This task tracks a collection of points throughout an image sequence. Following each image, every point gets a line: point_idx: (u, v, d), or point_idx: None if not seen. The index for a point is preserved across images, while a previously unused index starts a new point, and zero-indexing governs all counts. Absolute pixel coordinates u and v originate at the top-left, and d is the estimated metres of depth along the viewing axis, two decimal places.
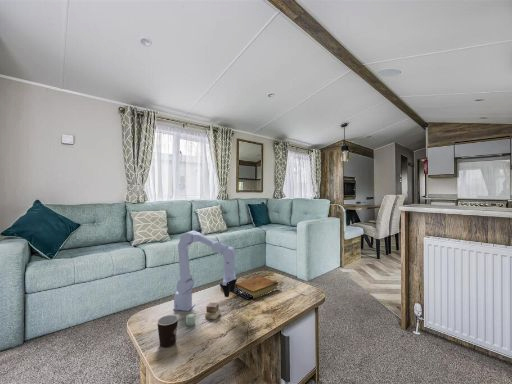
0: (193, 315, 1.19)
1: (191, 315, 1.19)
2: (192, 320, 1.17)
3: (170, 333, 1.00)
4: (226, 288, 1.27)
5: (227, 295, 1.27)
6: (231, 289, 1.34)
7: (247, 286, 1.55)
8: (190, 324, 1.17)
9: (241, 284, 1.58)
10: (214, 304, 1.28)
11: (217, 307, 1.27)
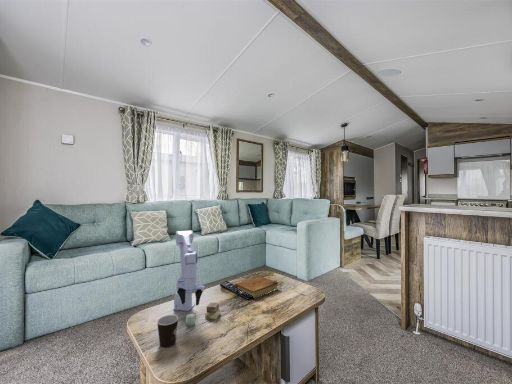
0: (193, 315, 1.19)
1: (191, 315, 1.19)
2: (192, 320, 1.17)
3: (170, 333, 1.00)
4: None
5: None
6: None
7: (247, 286, 1.55)
8: (190, 324, 1.17)
9: (241, 284, 1.58)
10: (214, 304, 1.28)
11: (217, 307, 1.27)
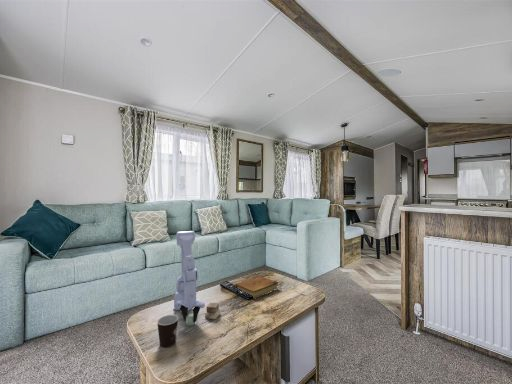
0: None
1: (191, 315, 1.19)
2: (192, 320, 1.17)
3: (170, 333, 1.00)
4: None
5: None
6: None
7: (247, 286, 1.55)
8: (190, 324, 1.17)
9: (241, 284, 1.58)
10: (214, 304, 1.27)
11: (217, 307, 1.27)
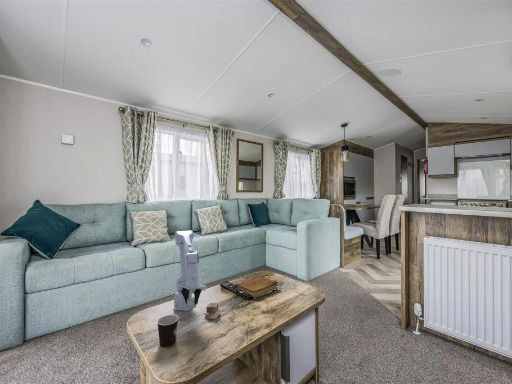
0: (194, 298, 1.20)
1: (192, 298, 1.20)
2: (193, 302, 1.18)
3: (170, 333, 1.00)
4: None
5: None
6: None
7: (247, 286, 1.55)
8: (191, 306, 1.17)
9: (241, 284, 1.58)
10: (214, 304, 1.28)
11: (217, 307, 1.27)
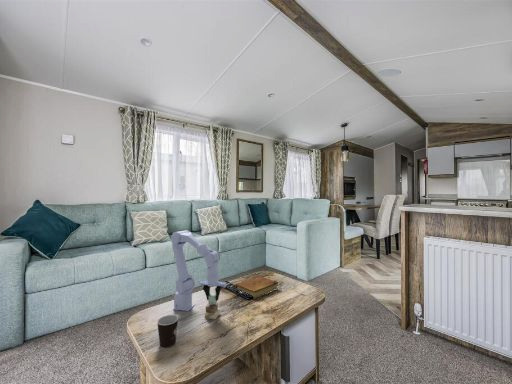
0: (215, 294, 1.28)
1: (213, 294, 1.28)
2: (214, 299, 1.25)
3: (170, 333, 1.00)
4: None
5: None
6: None
7: (248, 286, 1.55)
8: (212, 302, 1.25)
9: (241, 284, 1.58)
10: (213, 304, 1.27)
11: (216, 307, 1.27)
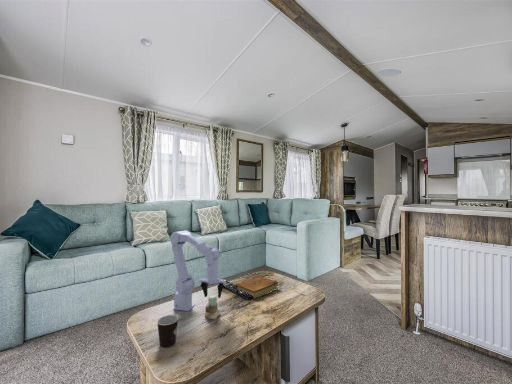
0: (215, 296, 1.28)
1: (213, 296, 1.28)
2: (214, 301, 1.25)
3: (170, 333, 1.00)
4: None
5: None
6: None
7: (248, 286, 1.55)
8: (212, 304, 1.25)
9: (241, 284, 1.58)
10: None
11: (216, 307, 1.27)
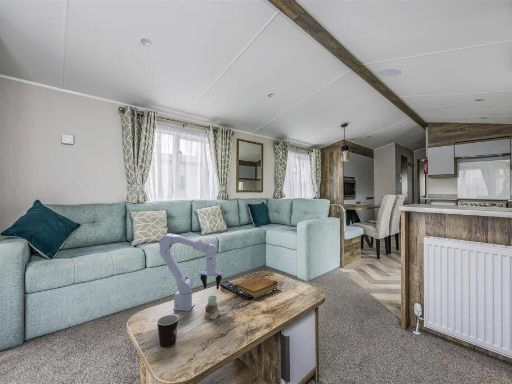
0: (215, 296, 1.28)
1: (213, 296, 1.28)
2: (214, 301, 1.26)
3: (170, 333, 1.00)
4: None
5: None
6: None
7: (248, 286, 1.55)
8: (212, 304, 1.25)
9: (241, 284, 1.58)
10: None
11: (216, 307, 1.27)
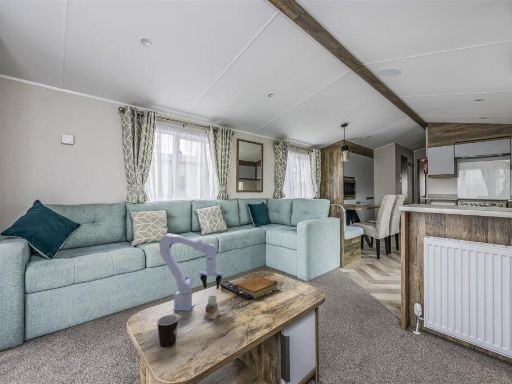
0: (215, 296, 1.28)
1: (213, 296, 1.28)
2: (214, 301, 1.26)
3: (170, 333, 1.00)
4: None
5: None
6: None
7: (248, 286, 1.55)
8: (212, 304, 1.25)
9: (241, 284, 1.58)
10: None
11: (216, 307, 1.28)
